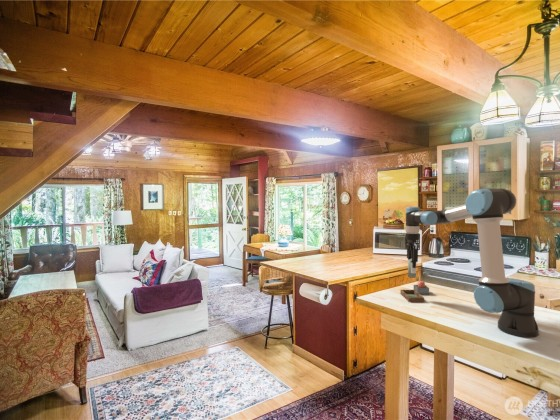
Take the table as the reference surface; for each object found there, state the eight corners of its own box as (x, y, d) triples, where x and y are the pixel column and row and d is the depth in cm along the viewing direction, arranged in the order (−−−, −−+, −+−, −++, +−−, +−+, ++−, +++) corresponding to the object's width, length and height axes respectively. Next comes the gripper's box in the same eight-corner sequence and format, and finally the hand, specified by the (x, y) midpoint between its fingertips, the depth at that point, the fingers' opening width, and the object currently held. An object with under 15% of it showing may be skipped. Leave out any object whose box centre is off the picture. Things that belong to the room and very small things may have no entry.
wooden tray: (424, 302, 189) (424, 297, 188) (408, 302, 189) (408, 297, 189) (414, 293, 204) (414, 289, 204) (400, 293, 205) (400, 289, 205)
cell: (417, 277, 194) (417, 259, 193) (409, 277, 194) (409, 259, 193) (414, 275, 198) (414, 258, 198) (406, 275, 198) (406, 258, 198)
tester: (429, 294, 202) (429, 288, 202) (417, 294, 203) (417, 287, 203) (424, 291, 209) (424, 284, 209) (413, 290, 210) (413, 284, 210)
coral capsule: (425, 292, 204) (425, 282, 204) (419, 292, 204) (419, 282, 204) (423, 290, 208) (423, 281, 208) (416, 290, 208) (416, 280, 208)
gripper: (424, 234, 186) (423, 275, 187) (413, 231, 203) (413, 268, 204) (410, 234, 186) (410, 275, 187) (401, 231, 203) (401, 268, 205)
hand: (412, 271), depth 196 cm, fingers closed on cell, 4 cm apart
